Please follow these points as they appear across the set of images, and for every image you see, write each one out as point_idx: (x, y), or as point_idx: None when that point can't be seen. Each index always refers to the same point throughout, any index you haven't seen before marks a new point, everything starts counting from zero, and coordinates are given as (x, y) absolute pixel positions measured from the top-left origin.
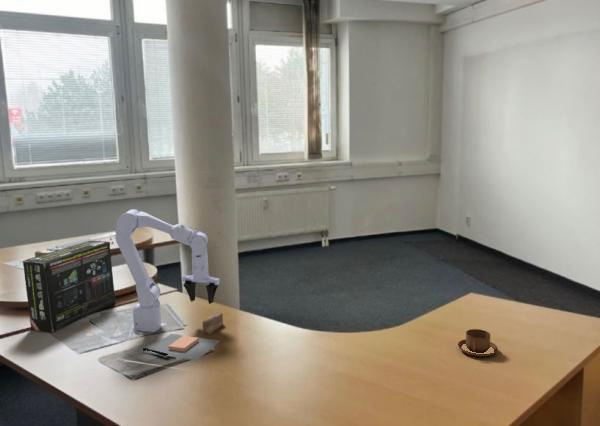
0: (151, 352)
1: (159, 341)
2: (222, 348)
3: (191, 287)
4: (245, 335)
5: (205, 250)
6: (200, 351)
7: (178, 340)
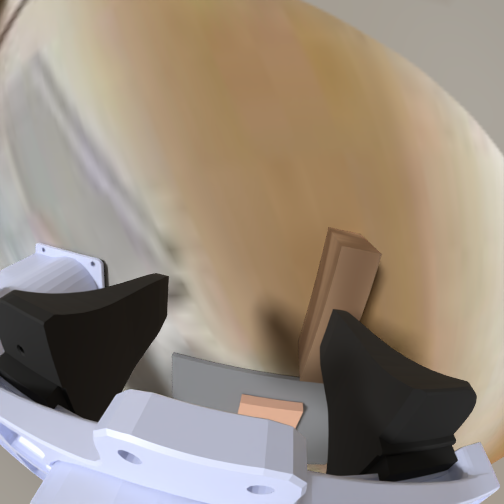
0: None
1: None
2: None
3: (105, 384)
4: (451, 321)
5: None
6: (325, 440)
7: None
